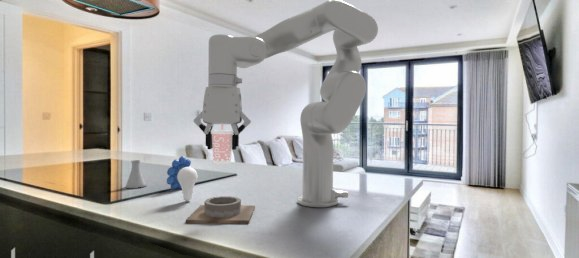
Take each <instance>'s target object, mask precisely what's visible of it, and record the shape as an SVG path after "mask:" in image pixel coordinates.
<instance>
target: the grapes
mask: <svg viewBox="0 0 579 258" xmlns="http://www.w3.org/2000/svg"><path fill="white" fill-rule="evenodd" d="M191 165H192V161H191V159H189V158H186V157H185V156H179V158H178V159H177V158H176V159H173V161H172V162H171V166H170V167H168V168H167V171H166V173H167V175H168V177H167V179H166V184H167V185H169V186H170V189H171V190H172V191H174V190H175V191H176V190H177V189H179V190H182V187H181V185H180V183H179V181H178V179H177V175H178V172H179V171H180V170H181V169H182V168H184V167H191V168H193V167H192V166H191Z"/></svg>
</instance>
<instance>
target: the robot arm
mask: <svg viewBox="0 0 579 258" xmlns="http://www.w3.org/2000/svg"><path fill="white" fill-rule="evenodd" d="M332 31H333V33H332V40H333V45H334V47H335V51H336V59H335V61H334V63H333V65H332V67H331V68H330V70H329V72H328V73H327V75H326V76H325V79H323V81H322V83H321V86H320V90H319V91H320V92H319V94H320V97H321V98H322V100H323V101H314V102H310V103H308V104H307V105H305V106H304V107H303V109H302V110H301V114H300V117H299V119H300V127H301V128H300V129H301V134H302V194H301V196H298V197H297V204H299V205H302V206H304V207H309V208H310V207H311V208H329V207H334V206H336V205H338V201H339V200H338V199H339V198H342V199H343V198H344V199H347V198H348V197H349V192H348V191H343V190H336V189H335V188H334V141H333V137H332V135H335V134H340V133H342V132H344V131H345V130H346V129H347V128H348V127H349V125H350V124H351V122H352V120H353V119H354V117H355V115H356V113H357V111H358V109H359V108H360V106H361V104H362V102H363V101H364V99H365V96H366V94H367V93H366V92H367V83H366V80H365V78H364V76H363V75H362V74H361V73H360V71H361V69H362V58H361V54H360V51H359V48H358V47H361V46H363V45H367V44H370V43H371V42H372V41H374V40H375V39H376V37H377V35H378V32H379V27H378V24H377V21H376V20H375V18H374V17H373V16H372V15H371V14H368V13H367V12H365V11H363V10H362V9H359V8H357V7H355V6H354V5H352V4H349V3H347V2H345V1H343V0H326V1H324V2H323V3H320V4H318V5H316V6H315V7H312V8H311V9H308V10H305V11H303V12H301V13H298V14H296V15H293V16H291V17H289V18H286V19H284V20H282V21H280V22H278V23H277V24H275V25H273V26H271V27H270V28H268V29H267V30H265V31H263V32H260V33H259V34H256V35H254V36H233V35H228V34H214V35H211V36H210V37H209V38H208V71H207V72H208V76H207V77H208V79H207V82H208V86H206V87H205V88H204V89H205V91H204V96H203V103H202V111H200V113H199V114H198V115H197V116H196V117H195V118H194V119H193V123H194V124H195V125H196V126H197V127H198V128H199V129H200V130H201V131H202V132H203V134H204V135H205V147H207V150H213V147H212V134H211V130H213V128H214V126H215V125H221V124H223V125H230V126H231V128H232V129H231V130H233V131H234V132H233V135H232V150H233V151H235V150H237V147H239V146H240V144H239V143H240V142H239V141H240V140H239V139H240V138H239V137H240V133H242V132H243V131H244V130H245V129H246V128H247V127H248V126H249V125H250V124H251V123H252V121H251V119H250V118H249V117H248V116H247V115H246V114H245V113H244V112H243V104H242V93H241V89H240V87H238V85H239V84H243V78H240V77H238V74H237V73H238V68H239V69H246V68H250V67H253V66H257V65H259V64H261V63H263V62H264V60H266V59H269V58H271V57H273V56H276V55H278V54H282V53H285V52H289V51H290V50H294V49H297V48H298V47H300V46H302V45H304V44H306V43H308V42H311V41H312V40H314V39H315V40H316V38H320V37H321V36H323V35H325V34H326V35H327V33H330V32H332ZM242 122H243V123H242ZM204 123H205V124H206V125H205V124H204ZM240 123H242V124H241V125H238V124H240Z"/></svg>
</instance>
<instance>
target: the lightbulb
mask: <svg viewBox="0 0 579 258" xmlns="http://www.w3.org/2000/svg"><path fill="white" fill-rule="evenodd" d="M191 167H192V166H190V167H184V168H182V169H181V170H180V171H179V172H178V175H177V179H178V181H179V183H180V185H181V187H182V189H181V191H182V194H183V196H182V198H183V201H185V202H190V201H191V200H192V199H193V192H194V186H195V184H196V183H197V180H198V173H197V170H196V169H195V168H193V167H192V168H191Z"/></svg>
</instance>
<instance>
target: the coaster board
mask: <svg viewBox="0 0 579 258" xmlns="http://www.w3.org/2000/svg"><path fill="white" fill-rule="evenodd" d="M203 202H204V204H200V205H199V206H198V207H197V208H196V209H195V210H194V211H193V212H192V213H191V214H190V215H189V216H188V217H187V218H186V219H185V223H186V224H241V223H249V224H250V222H251V219H252V217H253V215H254V212H255V208H256V205H247V204H246V205H242V199H241V198H239V197H237V196H226V195H225V196H223V195H222V196H216V197H215V196H214V197H211V198H207V199H205V200H204V201H203ZM253 211H254V212H253Z"/></svg>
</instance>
